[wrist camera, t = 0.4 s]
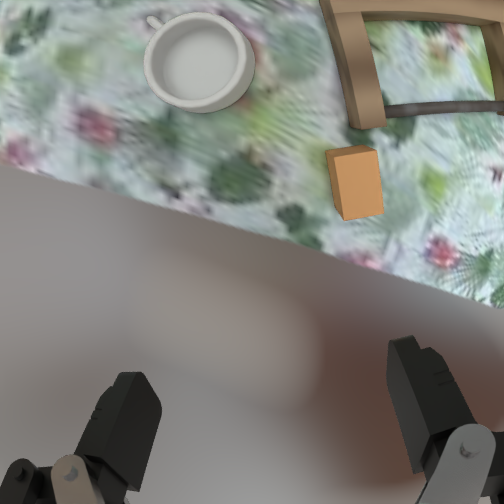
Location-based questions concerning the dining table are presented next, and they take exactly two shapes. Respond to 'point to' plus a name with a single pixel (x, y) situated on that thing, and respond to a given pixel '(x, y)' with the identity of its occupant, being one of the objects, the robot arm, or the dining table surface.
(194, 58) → the mug
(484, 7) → the shelf
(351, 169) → the tall cardboard carton
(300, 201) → the dining table surface
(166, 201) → the dining table surface
